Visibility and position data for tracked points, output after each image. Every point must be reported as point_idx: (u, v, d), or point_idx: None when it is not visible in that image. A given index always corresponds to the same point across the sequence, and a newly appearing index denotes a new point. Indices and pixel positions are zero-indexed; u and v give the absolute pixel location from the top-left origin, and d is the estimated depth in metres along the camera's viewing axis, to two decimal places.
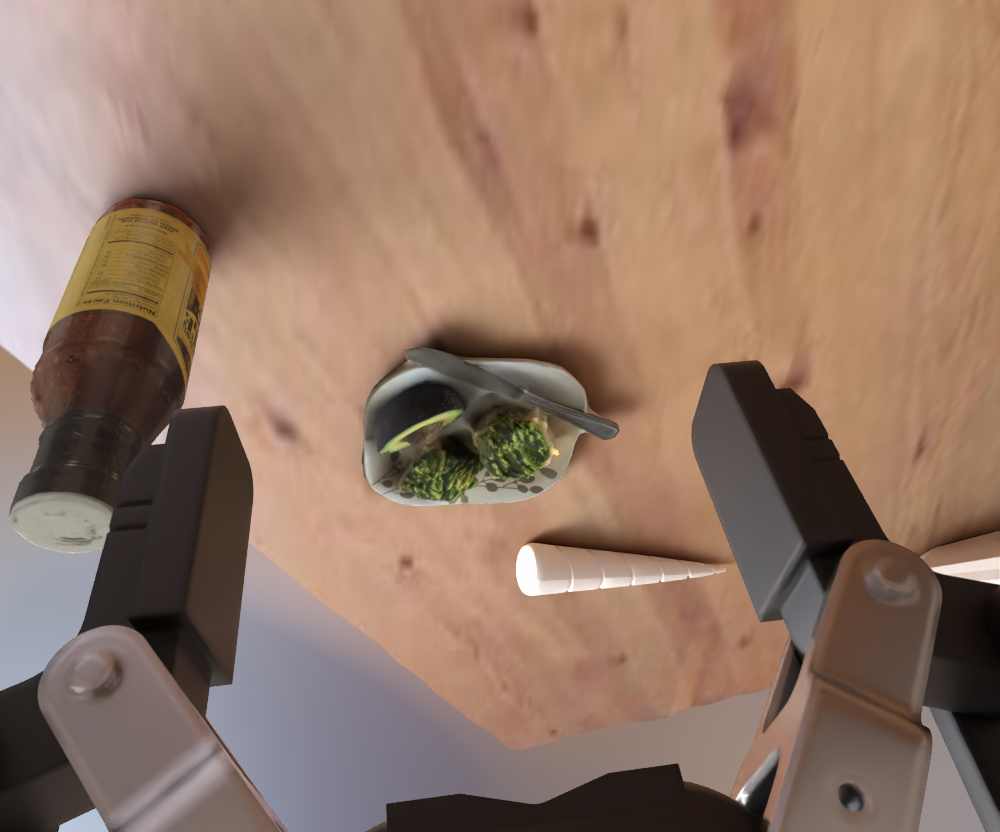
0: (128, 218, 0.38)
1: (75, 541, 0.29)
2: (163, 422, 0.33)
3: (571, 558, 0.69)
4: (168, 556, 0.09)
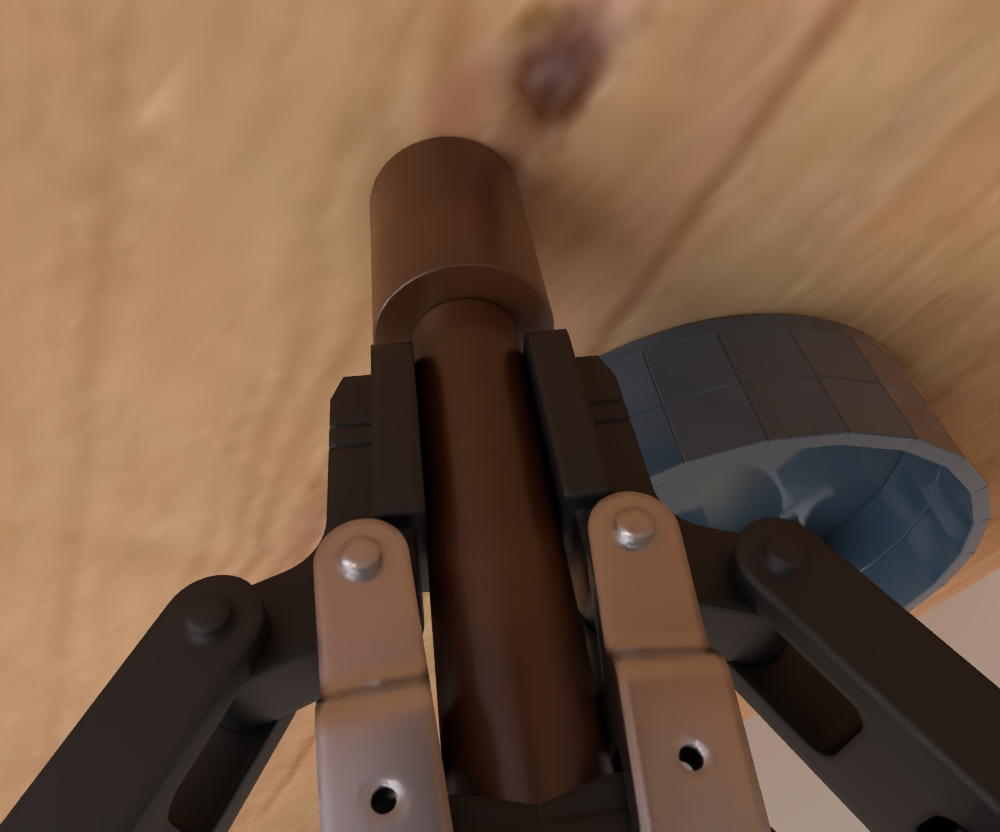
0: None
1: None
2: None
3: None
4: (398, 465, 0.10)
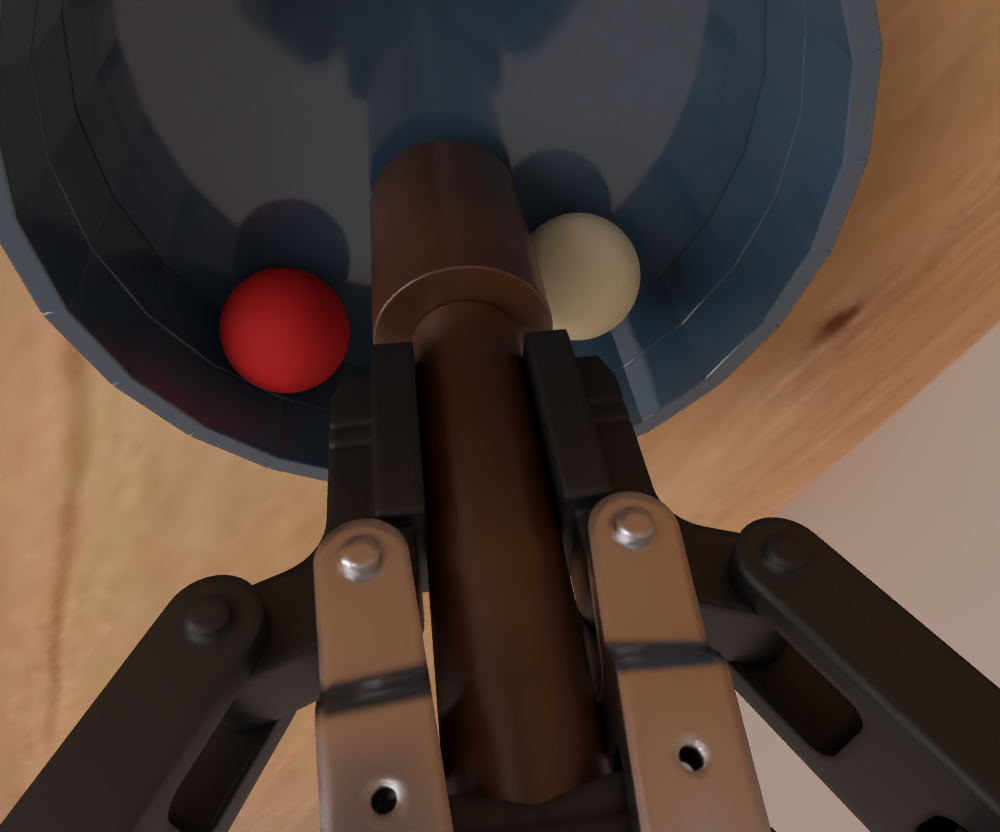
0: None
1: None
2: None
3: None
4: (398, 465, 0.10)
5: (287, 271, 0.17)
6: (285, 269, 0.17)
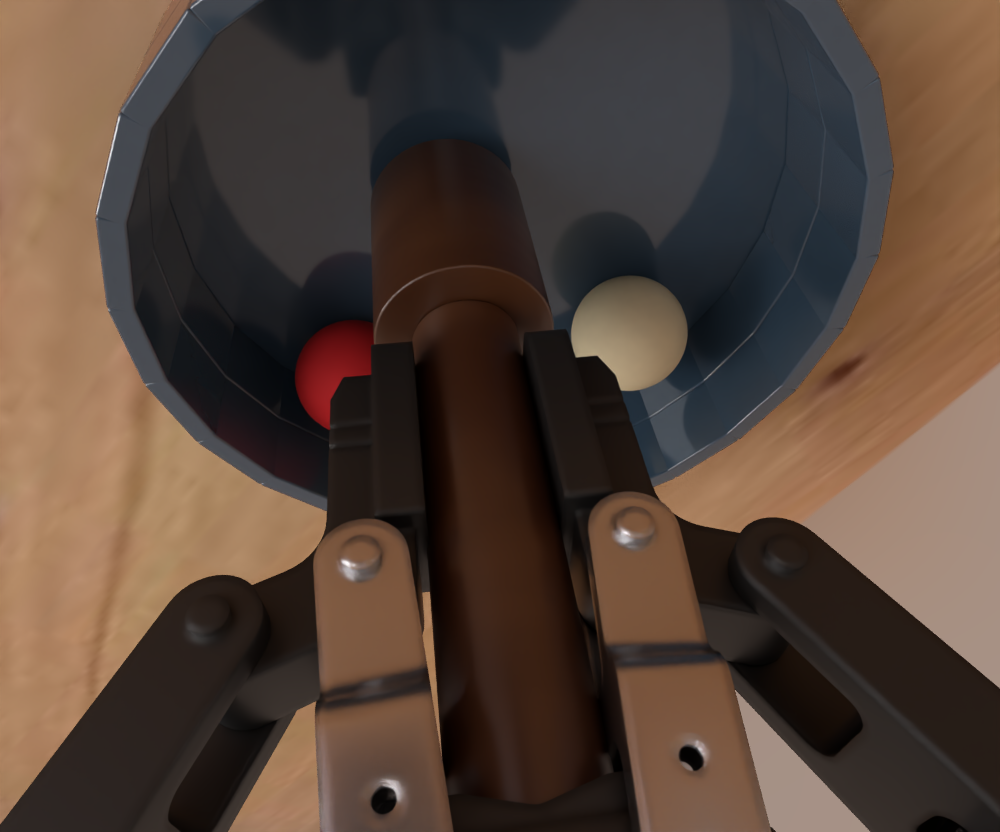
0: None
1: None
2: None
3: None
4: (398, 465, 0.10)
5: (355, 320, 0.19)
6: (352, 320, 0.19)
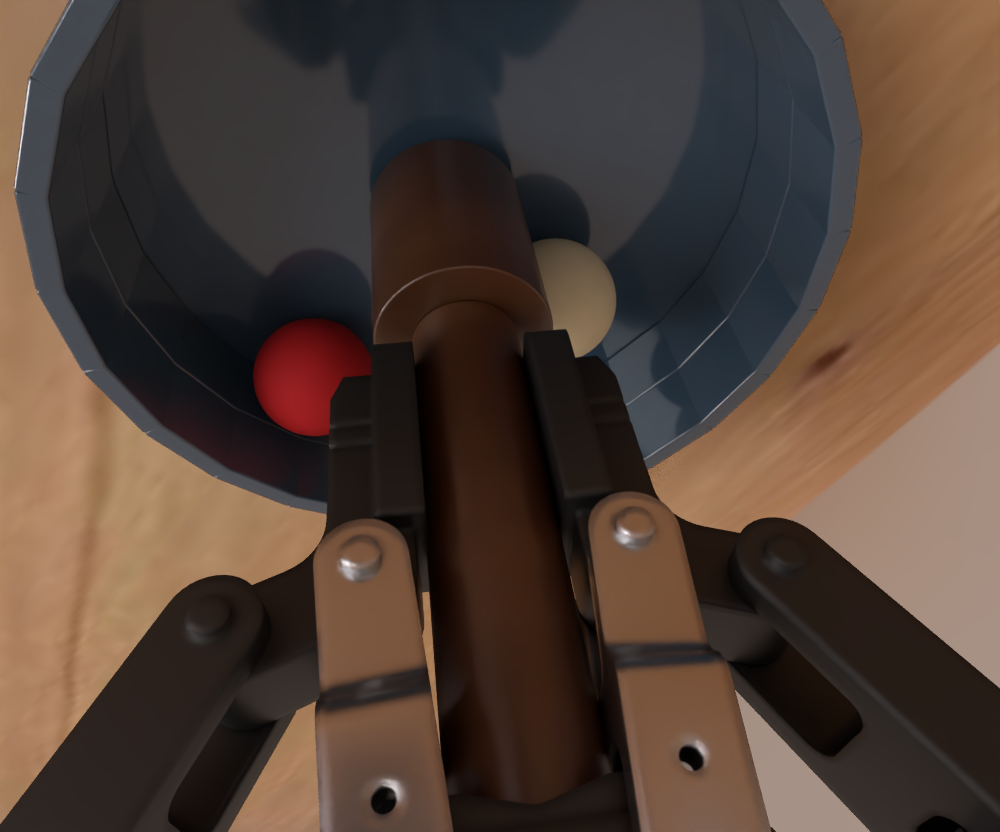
0: None
1: None
2: None
3: None
4: (398, 465, 0.10)
5: (313, 323, 0.18)
6: (311, 321, 0.18)
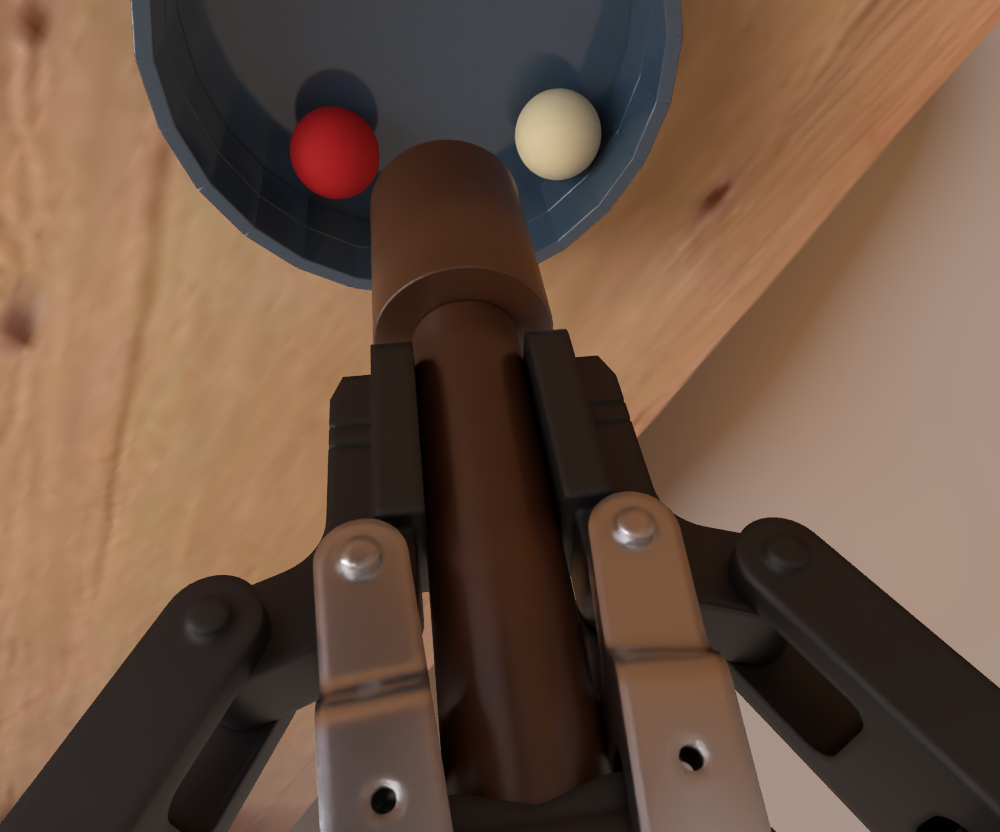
0: None
1: None
2: None
3: None
4: (398, 465, 0.10)
5: None
6: None
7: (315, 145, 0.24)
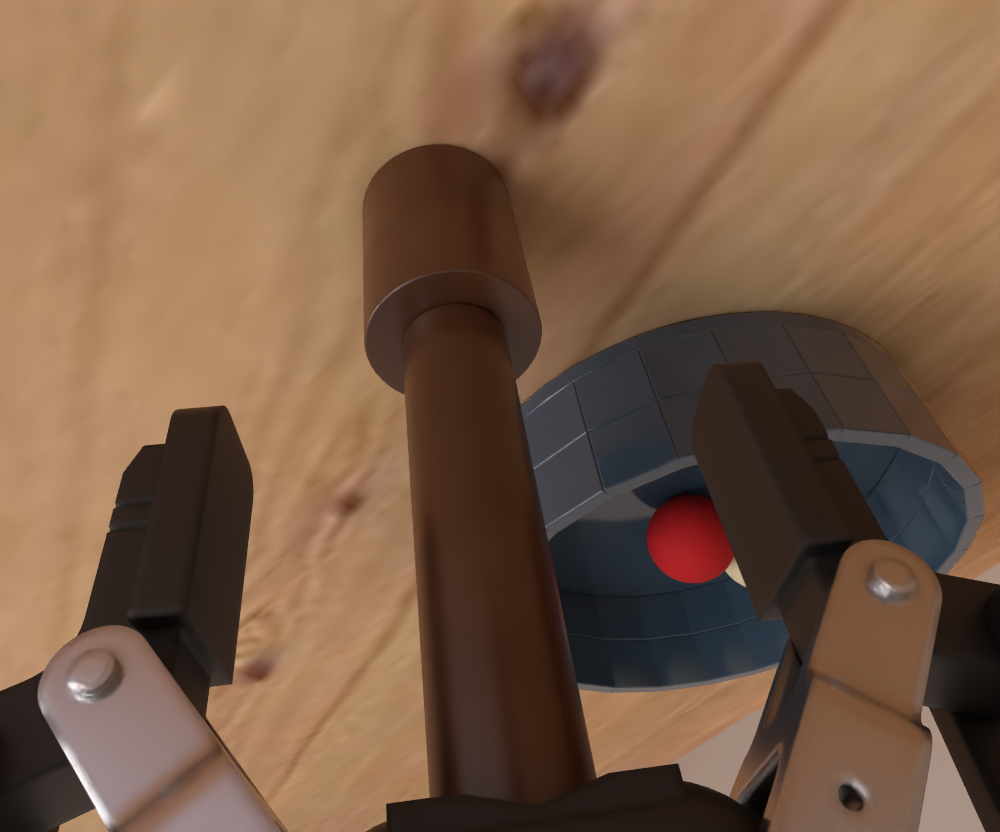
0: None
1: None
2: None
3: None
4: (168, 556, 0.09)
5: (654, 558, 0.25)
6: (656, 559, 0.25)
7: (675, 498, 0.25)
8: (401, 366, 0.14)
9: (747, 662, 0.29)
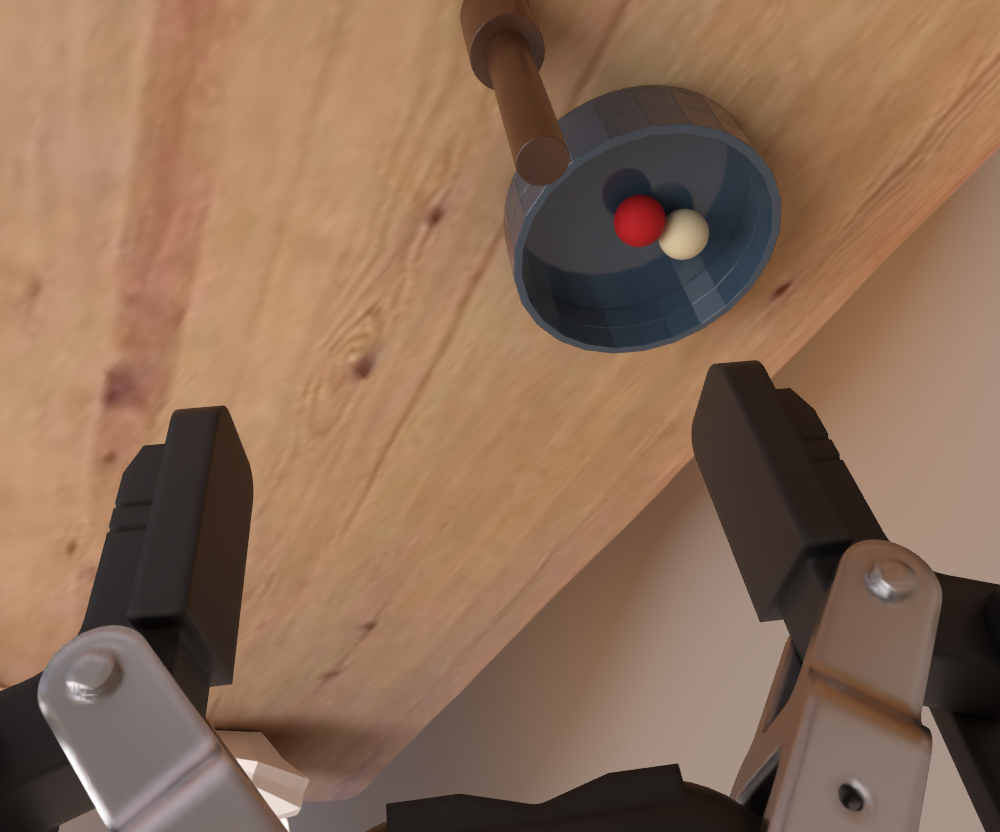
0: None
1: None
2: None
3: None
4: (168, 556, 0.09)
5: (623, 224, 0.43)
6: (624, 222, 0.43)
7: None
8: (484, 66, 0.34)
9: (668, 334, 0.48)
